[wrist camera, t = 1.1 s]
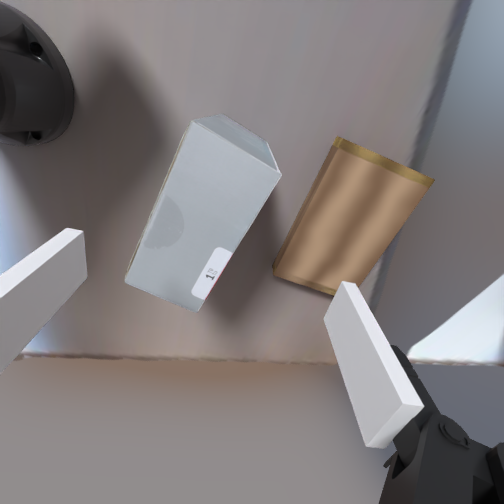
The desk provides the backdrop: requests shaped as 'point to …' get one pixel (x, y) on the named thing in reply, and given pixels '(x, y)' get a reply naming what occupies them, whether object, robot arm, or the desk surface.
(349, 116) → the desk surface
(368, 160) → the light brown wooden slab
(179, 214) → the hard drive box
